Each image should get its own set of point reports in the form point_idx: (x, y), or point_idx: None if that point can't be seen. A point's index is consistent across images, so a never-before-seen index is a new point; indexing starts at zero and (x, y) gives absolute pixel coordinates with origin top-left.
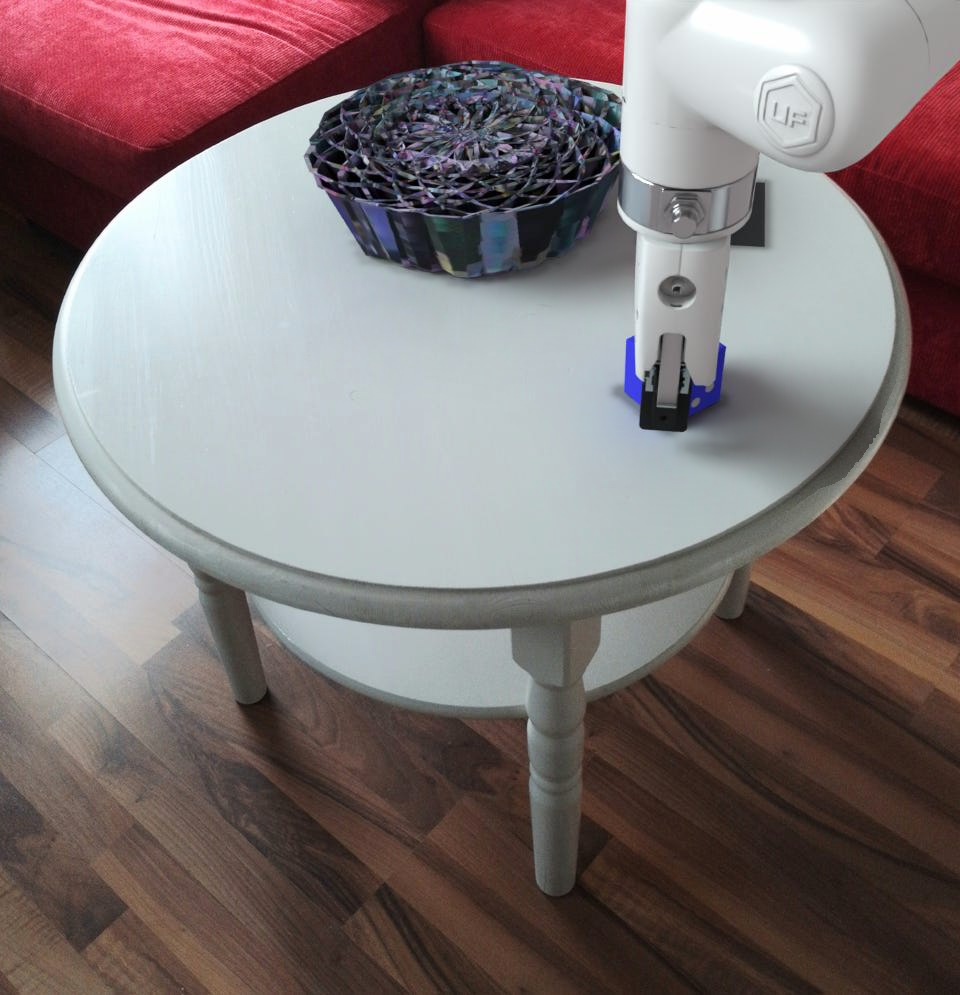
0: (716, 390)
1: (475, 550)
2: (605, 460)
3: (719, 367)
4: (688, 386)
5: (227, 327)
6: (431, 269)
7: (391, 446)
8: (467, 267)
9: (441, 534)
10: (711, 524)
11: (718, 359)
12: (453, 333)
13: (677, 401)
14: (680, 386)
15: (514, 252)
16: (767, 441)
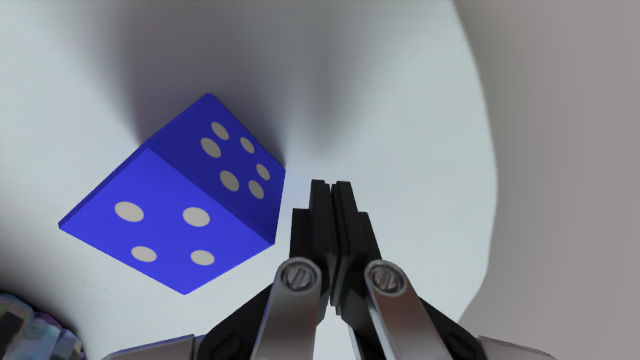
0: (211, 110)
1: (436, 303)
2: None
3: (189, 131)
4: (415, 293)
5: None
6: (83, 357)
7: (316, 345)
8: (70, 355)
9: None
10: (473, 125)
11: (184, 147)
12: (167, 332)
13: (379, 256)
14: (482, 354)
15: (15, 343)
16: (309, 10)
